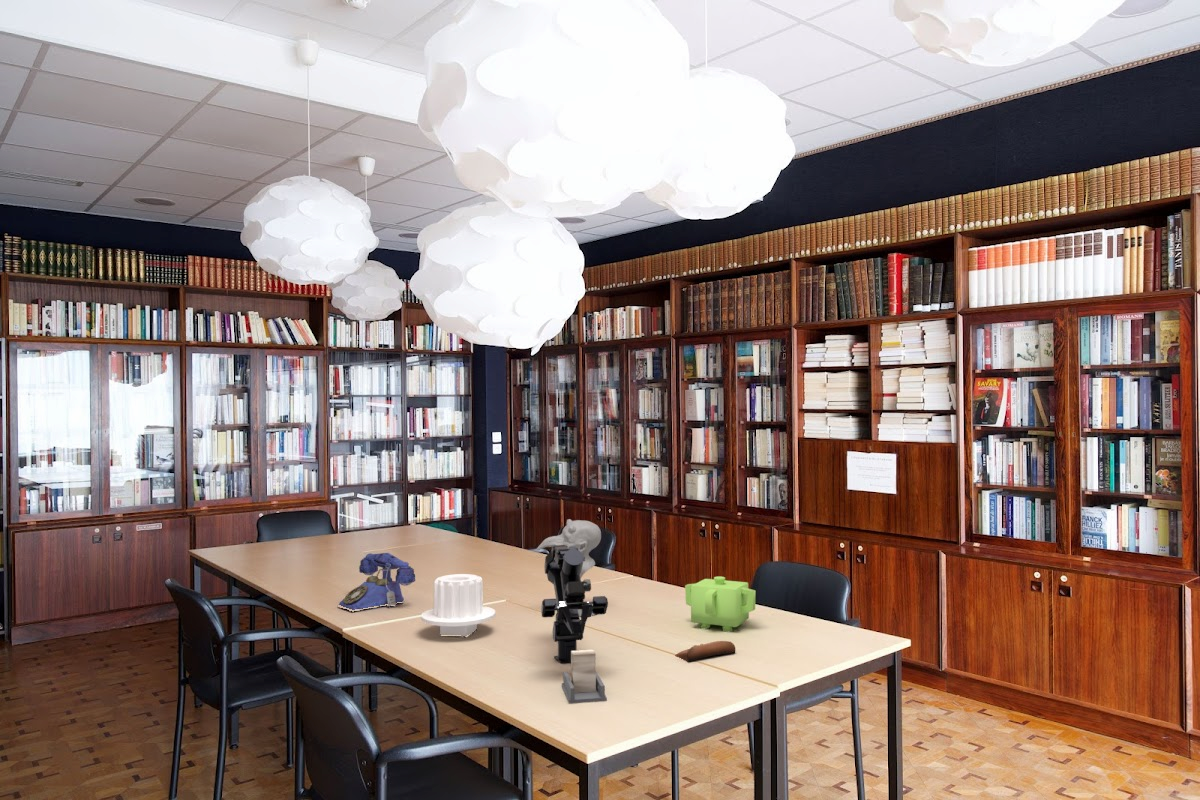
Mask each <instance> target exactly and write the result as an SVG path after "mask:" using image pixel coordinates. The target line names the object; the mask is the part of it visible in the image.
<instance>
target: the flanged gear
mask: <svg viewBox="0 0 1200 800" xmlns="http://www.w3.org/2000/svg"><path fill="white" fill-rule="evenodd" d="M483 581H484V580H483V578H482V577H481V576H479V575H476V574H469V573H468V574H467V573H459V574H458V573H457V574H456V573H454V574H447V575H442V576H439V577H436V579H435V580H434V581H433V608H430V609H427V610H425V611H423V612H422V613H421V616H420V617H421V618H420V619H421V621H422V622H423V623H425V624H426V625H432V626H437V627H439V635H440V634H441V635H461V636H467V635H469V634H471V633H472V632H473V631H475V630H476V629H477V630H478V625H479V624H483V623H485V622H486V623H487V622H490V621H491V620H493V619H495V618H496V610H495V609H494V608H492V607H489V606H484V605H483V604H484V603H483V602H484V601H483V596H484V594H483V592H484V591H483V590H484V589H483ZM475 632H476V631H475ZM471 635H472V634H471Z"/></svg>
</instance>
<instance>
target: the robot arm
mask: <svg viewBox="0 0 1200 800" xmlns="http://www.w3.org/2000/svg"><path fill="white" fill-rule="evenodd" d="M554 558H555V559H554ZM583 561H585V557H584V555H583V554H582V552H580V551H579V550H578V548H576V546H575V547H569V548H568V547H567V546H565V545H554V546H552V547H551V550H550V552H549V553H548V554H547V555H546V556H545V558H544V574H545V575H546V577H547V581H549V583H551V584H553V588H554V589H553V590H554V594H555V598H543V600H542V602H541V606H540V607H541V608H540V609H541V610H540V611H541V618H553V617H554V616H555V621H553V626H552V639H553V641H554V642H557V655H554V656H553V658H554V659H555V660H556V661H557V662H559V663H561V664H566V663H571V651H577V649H578V648H577V644H578V643H577V641H583V639H584V632H585V627H586V622H587V621H588V618H591V617H592V616H591V615H592V613H593V614H595V615H594V616H598V615H605V614H607V609H608V605H609V601H608V597H606V595H599V596H593V597H592V601H584V600H585V599H586V592H591V590H592V585H591V584H592V583H591V582H592V581H591V579H587V578H585V579H583V580H582V577H581V578H580V573H581V571H582V566H583ZM578 610H582V613H581V616H579V614H578Z"/></svg>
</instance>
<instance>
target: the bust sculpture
mask: <svg viewBox="0 0 1200 800" xmlns="http://www.w3.org/2000/svg"><path fill="white" fill-rule="evenodd" d="M601 539H602V532H601V528H600V527H599V526H598V525H597V524H595V523H594V522H591V521H589V520H580V519H576V520H572V519H570V518H569V519H566V525H565V526H564V527H563V529H562V532H561V533H560V534H558V535H552V536H549V537H547V538H545V539H544V540H542V542H541V543H540V544H539V545H538V547H536V551H540V550H542V549H545V548H552V546H554V545H565V546H567V547H568V548H569V547H575V546H576V548H578V550H579V551H580V552H582V554H583V555H584V557H585V561H583V566H582V571H581V573H580V578H581V579H582V577H583V576H584V574H585V573H587V571H589V570H592V568H593V567H595V566H596V562H595V559H594V558H592V557H591V556H590V555H589V554H590V553H591V551H592V550H594V549H595V548H597V546H599V544H600V543H601ZM554 559H555V558H554ZM581 613H582V610H578V614H579V617H581ZM592 615H593V616H596V615H595V614H593V613H592Z"/></svg>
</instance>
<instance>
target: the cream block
mask: <svg viewBox="0 0 1200 800" xmlns="http://www.w3.org/2000/svg"><path fill="white" fill-rule="evenodd" d="M596 657H597V656H596V652H595V650H594V649H581V650H577V651H571V662H570V668H571V670H570V676H571V677H570V680H571V682H572V684H573V686H574V693H580V692H594V691H596V672H597V669H596V664H597V663H596Z"/></svg>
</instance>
